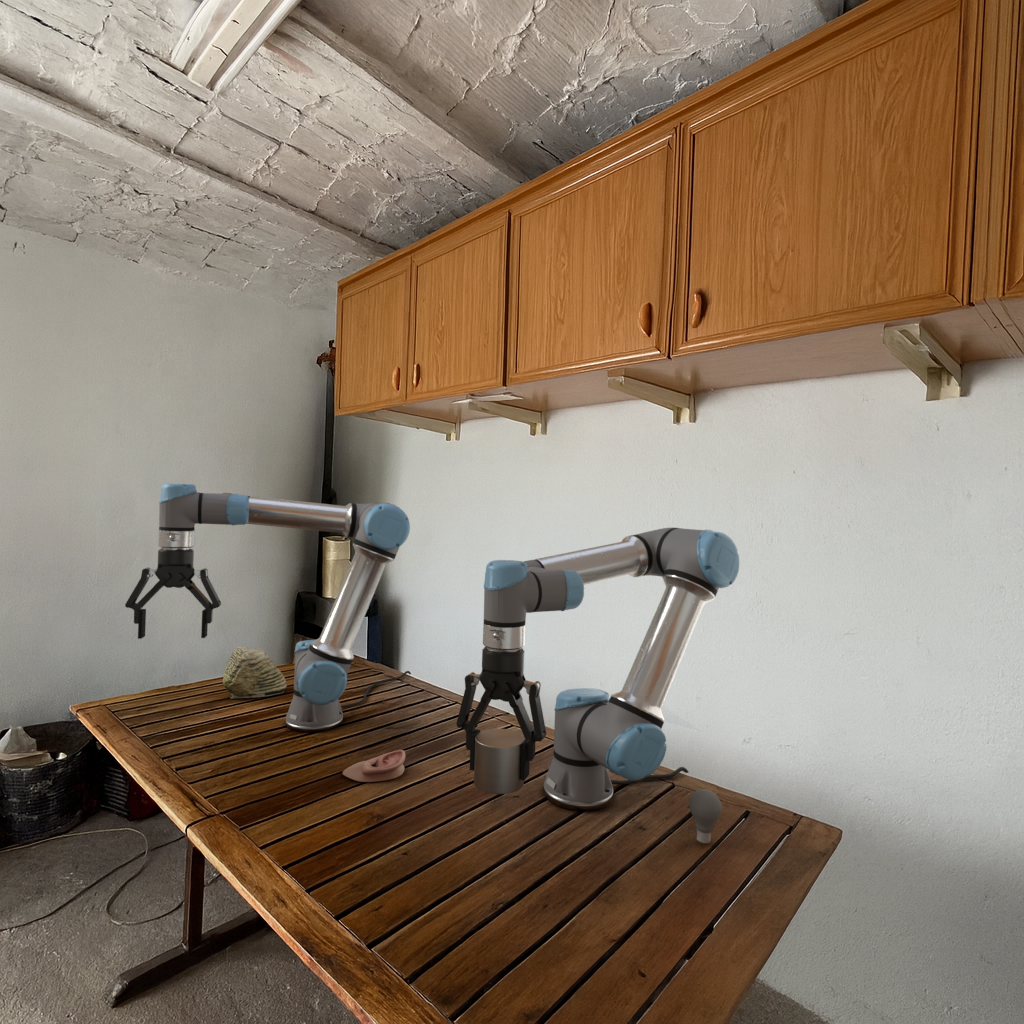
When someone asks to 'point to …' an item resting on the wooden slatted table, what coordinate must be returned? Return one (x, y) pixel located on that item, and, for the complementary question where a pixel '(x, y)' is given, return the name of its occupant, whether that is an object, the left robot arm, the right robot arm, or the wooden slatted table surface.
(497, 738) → the can
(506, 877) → the wooden slatted table surface
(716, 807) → the light bulb
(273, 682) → the fossil
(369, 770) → the anatomical model
